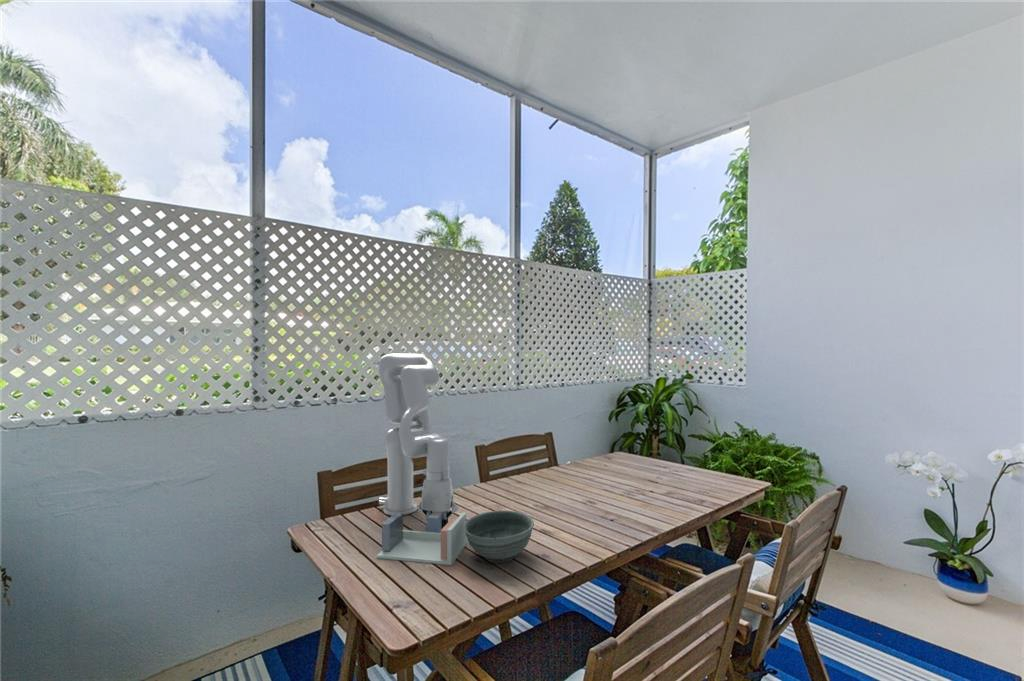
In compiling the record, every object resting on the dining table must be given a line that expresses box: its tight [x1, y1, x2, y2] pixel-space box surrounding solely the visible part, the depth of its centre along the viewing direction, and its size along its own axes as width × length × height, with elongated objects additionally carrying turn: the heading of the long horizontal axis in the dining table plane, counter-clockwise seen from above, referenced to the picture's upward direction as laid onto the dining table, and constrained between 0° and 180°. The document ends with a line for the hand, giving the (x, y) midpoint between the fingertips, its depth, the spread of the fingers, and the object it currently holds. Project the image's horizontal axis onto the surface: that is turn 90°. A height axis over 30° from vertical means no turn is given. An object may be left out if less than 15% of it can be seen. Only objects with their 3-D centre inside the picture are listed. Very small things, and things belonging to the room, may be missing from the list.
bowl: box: [464, 510, 535, 564], centre depth 130 cm, size 21×21×10 cm
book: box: [426, 511, 443, 533], centre depth 148 cm, size 4×9×6 cm, turn 168°
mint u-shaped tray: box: [376, 511, 467, 566], centre depth 134 cm, size 23×14×10 cm, turn 78°
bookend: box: [381, 513, 404, 551], centre depth 136 cm, size 2×9×8 cm, turn 168°
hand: (437, 529), depth 148 cm, fingers closed on book, 4 cm apart
